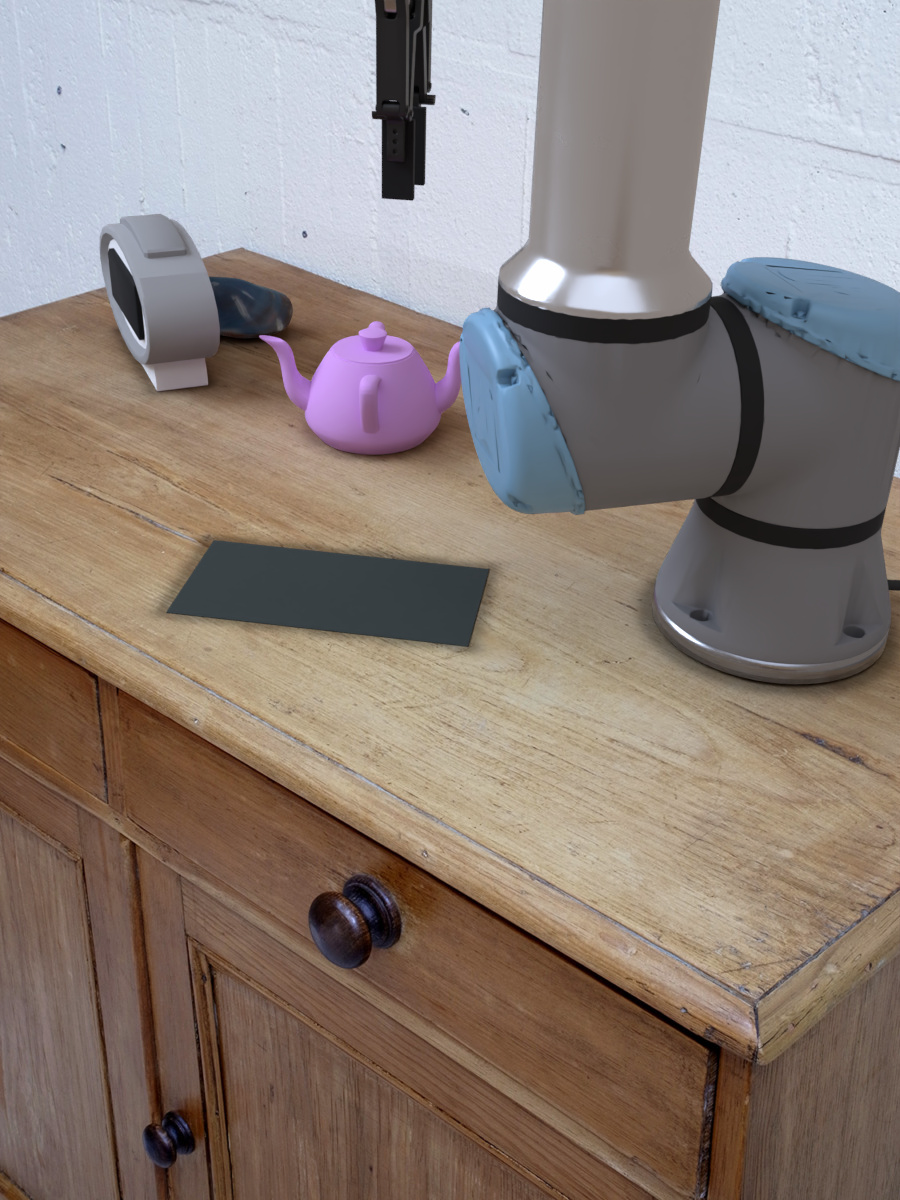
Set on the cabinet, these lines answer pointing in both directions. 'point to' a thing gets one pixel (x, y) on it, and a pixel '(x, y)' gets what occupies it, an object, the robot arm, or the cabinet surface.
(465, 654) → the cabinet surface
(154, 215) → the alarm clock
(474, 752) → the cabinet surface
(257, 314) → the seashell
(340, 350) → the teapot
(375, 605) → the mat
